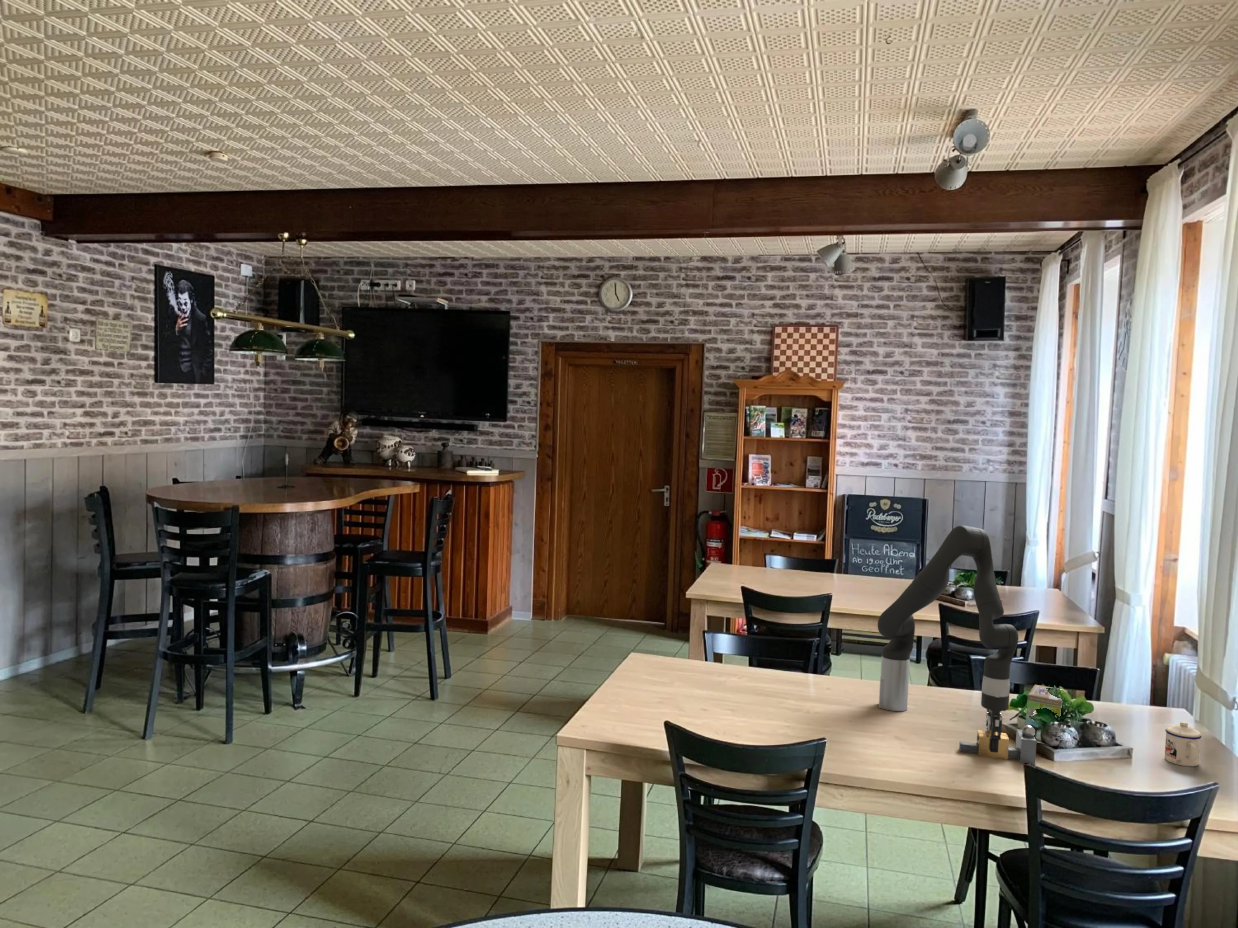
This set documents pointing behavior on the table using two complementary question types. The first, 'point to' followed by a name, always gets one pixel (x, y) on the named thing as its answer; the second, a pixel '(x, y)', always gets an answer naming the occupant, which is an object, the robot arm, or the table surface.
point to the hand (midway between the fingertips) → (992, 747)
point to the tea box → (1041, 703)
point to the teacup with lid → (1182, 745)
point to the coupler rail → (1022, 751)
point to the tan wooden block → (984, 745)
